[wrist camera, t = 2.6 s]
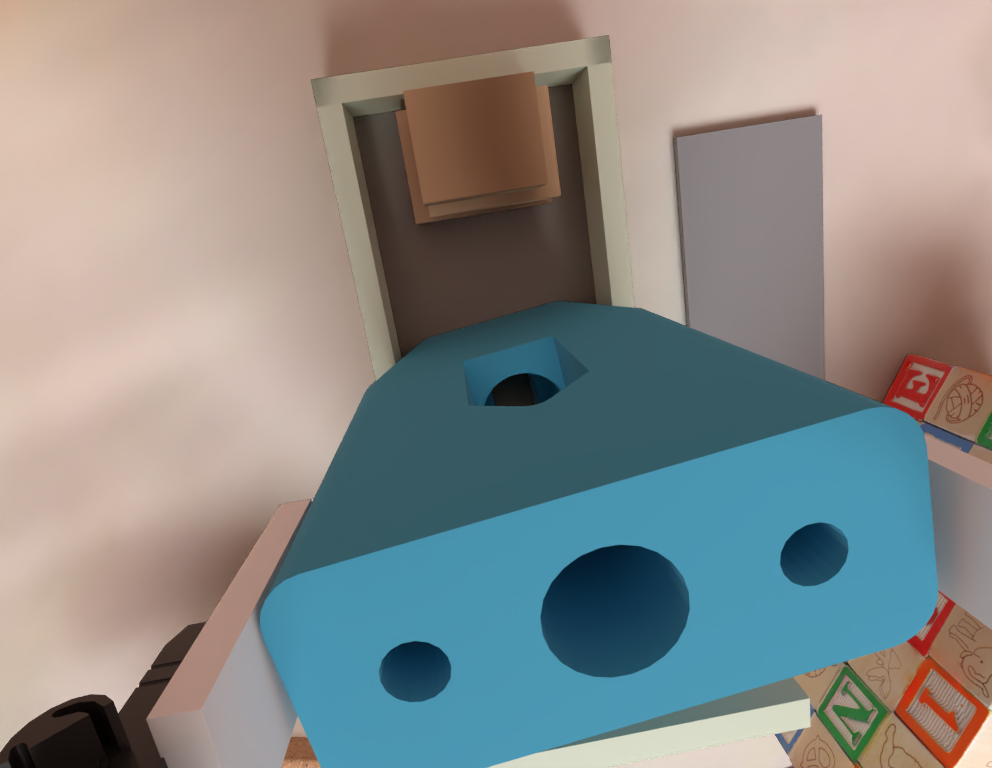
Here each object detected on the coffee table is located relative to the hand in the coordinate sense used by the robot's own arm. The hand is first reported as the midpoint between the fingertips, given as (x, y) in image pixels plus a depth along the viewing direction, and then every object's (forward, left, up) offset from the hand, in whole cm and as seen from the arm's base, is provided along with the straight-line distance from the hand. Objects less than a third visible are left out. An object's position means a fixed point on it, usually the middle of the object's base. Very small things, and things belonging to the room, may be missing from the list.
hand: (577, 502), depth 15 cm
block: (0, 0, -16) cm, 16 cm away
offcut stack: (0, +10, -16) cm, 18 cm away
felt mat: (+13, +2, -16) cm, 20 cm away
